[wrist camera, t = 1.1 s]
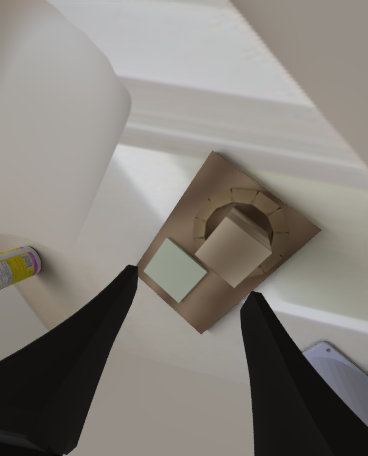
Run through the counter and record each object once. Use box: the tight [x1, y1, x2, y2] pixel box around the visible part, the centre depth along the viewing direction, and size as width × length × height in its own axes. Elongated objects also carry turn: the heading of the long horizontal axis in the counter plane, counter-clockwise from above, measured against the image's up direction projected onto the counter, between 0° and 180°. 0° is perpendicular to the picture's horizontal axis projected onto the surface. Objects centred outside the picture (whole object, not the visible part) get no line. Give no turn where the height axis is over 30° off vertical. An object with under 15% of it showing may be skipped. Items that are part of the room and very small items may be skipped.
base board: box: [137, 151, 321, 334], centre depth 23 cm, size 14×21×3 cm, turn 145°
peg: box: [195, 206, 272, 288], centre depth 18 cm, size 4×4×7 cm
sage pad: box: [144, 237, 208, 303], centre depth 25 cm, size 7×7×1 cm
